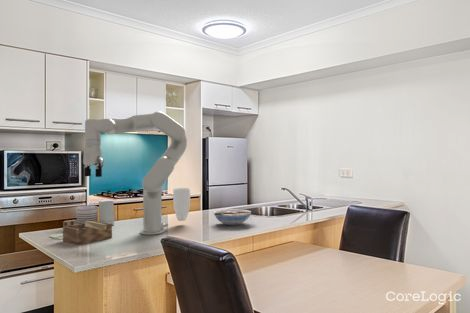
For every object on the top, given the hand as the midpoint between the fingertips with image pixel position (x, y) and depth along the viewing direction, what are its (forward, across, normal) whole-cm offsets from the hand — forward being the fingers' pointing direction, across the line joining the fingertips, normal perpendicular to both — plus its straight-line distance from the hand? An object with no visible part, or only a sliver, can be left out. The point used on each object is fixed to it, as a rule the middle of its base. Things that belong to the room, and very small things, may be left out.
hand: (93, 176), depth 185 cm
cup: (+31, +18, +46) cm, 58 cm away
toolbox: (+30, +6, -7) cm, 32 cm away
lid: (+31, -10, -7) cm, 33 cm away
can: (+31, -22, +10) cm, 39 cm away
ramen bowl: (+31, +41, +65) cm, 83 cm away
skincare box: (+31, -18, +20) cm, 41 cm away
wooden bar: (+22, +22, -13) cm, 34 cm away
